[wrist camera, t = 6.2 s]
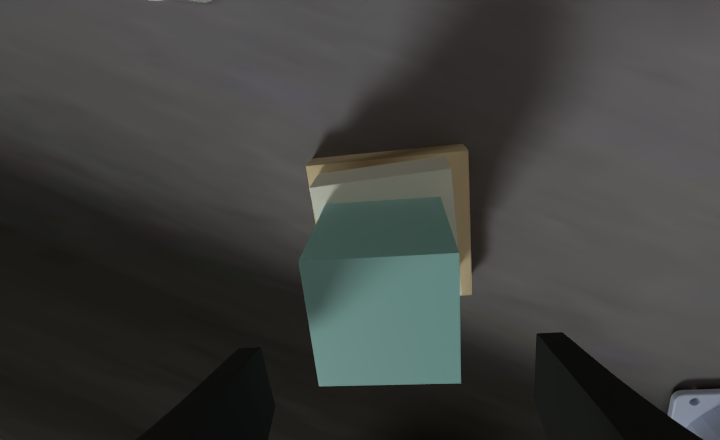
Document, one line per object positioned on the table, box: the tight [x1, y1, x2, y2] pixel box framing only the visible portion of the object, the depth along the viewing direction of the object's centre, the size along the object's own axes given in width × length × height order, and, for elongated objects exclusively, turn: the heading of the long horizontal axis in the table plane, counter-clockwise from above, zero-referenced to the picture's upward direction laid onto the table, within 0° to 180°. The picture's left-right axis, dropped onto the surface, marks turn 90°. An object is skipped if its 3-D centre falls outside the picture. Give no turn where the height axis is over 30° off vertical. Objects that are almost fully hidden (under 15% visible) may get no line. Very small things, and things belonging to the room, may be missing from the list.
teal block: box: [299, 197, 461, 386], centre depth 15 cm, size 4×4×5 cm
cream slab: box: [309, 156, 462, 295], centre depth 18 cm, size 6×6×2 cm
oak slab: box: [306, 144, 472, 296], centre depth 20 cm, size 7×7×2 cm
